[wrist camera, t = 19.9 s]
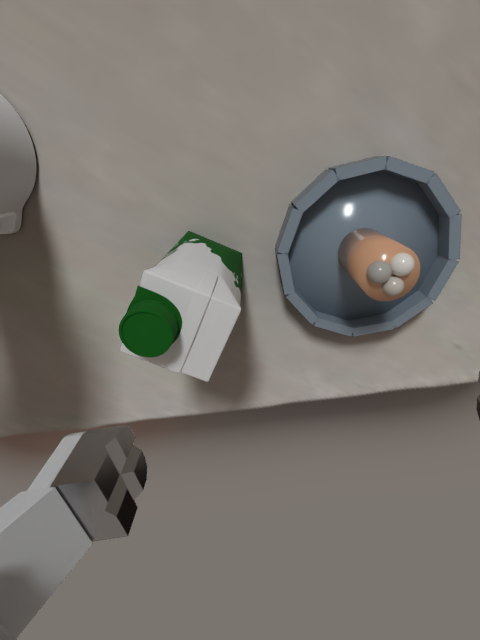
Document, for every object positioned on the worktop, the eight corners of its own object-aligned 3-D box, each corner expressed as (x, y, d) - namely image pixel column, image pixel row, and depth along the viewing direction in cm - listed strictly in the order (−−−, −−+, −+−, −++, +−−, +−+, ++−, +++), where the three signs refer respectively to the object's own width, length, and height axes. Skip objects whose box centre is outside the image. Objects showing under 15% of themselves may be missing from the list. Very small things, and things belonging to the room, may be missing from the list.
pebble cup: (339, 278, 41) (366, 311, 32) (335, 233, 39) (362, 255, 30) (386, 269, 41) (426, 300, 31) (384, 223, 39) (428, 242, 29)
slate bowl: (291, 335, 46) (294, 347, 43) (262, 184, 38) (264, 186, 35) (442, 306, 44) (457, 317, 41) (445, 138, 36) (464, 136, 33)
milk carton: (184, 220, 40) (129, 268, 22) (252, 249, 42) (253, 317, 23) (162, 284, 44) (101, 369, 26) (226, 309, 45) (210, 407, 27)
